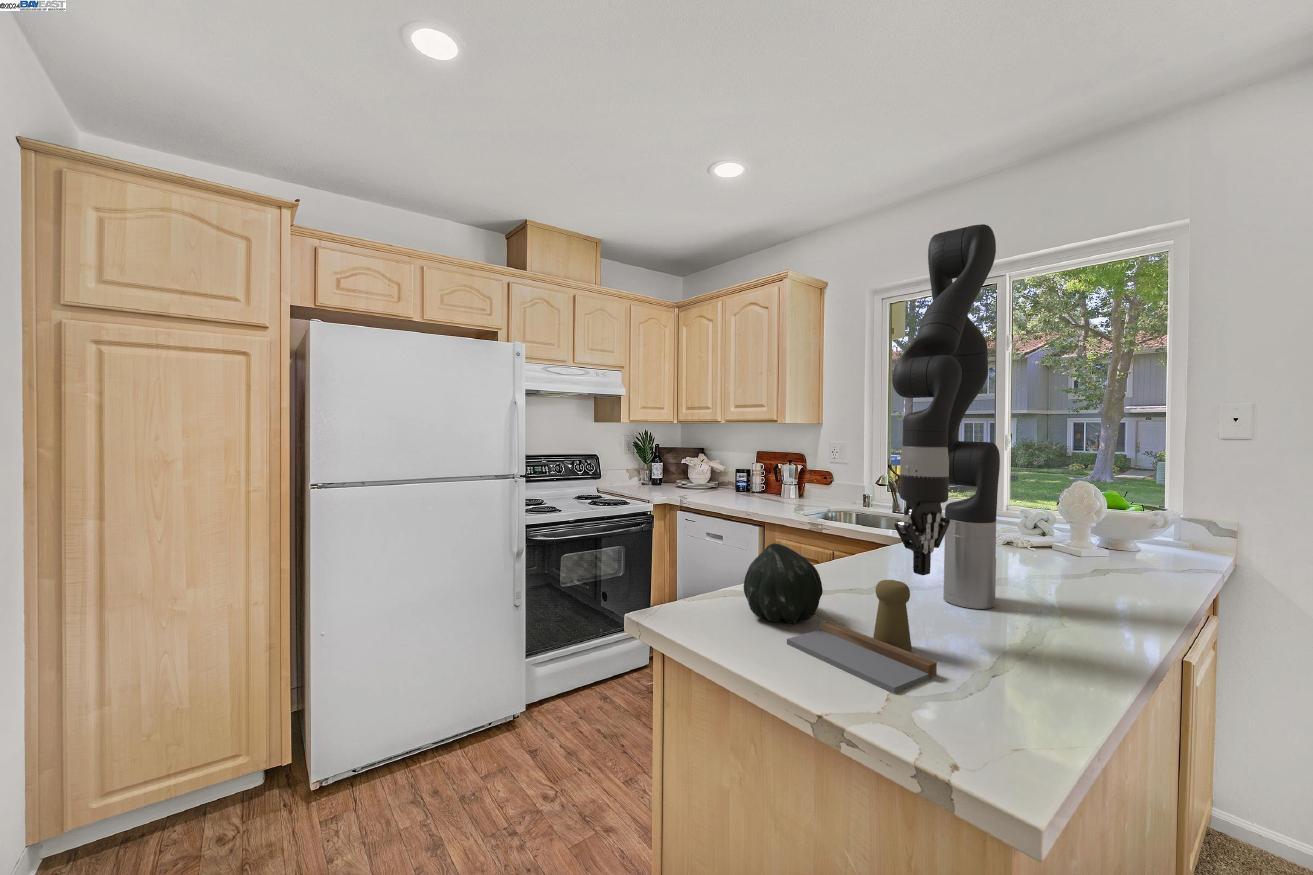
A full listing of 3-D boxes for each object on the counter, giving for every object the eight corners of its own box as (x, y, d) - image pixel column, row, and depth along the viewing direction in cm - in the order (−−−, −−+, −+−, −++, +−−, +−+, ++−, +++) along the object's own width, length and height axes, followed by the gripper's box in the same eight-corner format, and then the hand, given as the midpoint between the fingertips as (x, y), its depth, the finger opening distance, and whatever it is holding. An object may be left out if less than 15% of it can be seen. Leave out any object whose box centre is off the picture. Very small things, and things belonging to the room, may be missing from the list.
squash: (827, 578, 112) (778, 522, 112) (845, 605, 97) (788, 541, 97) (773, 621, 113) (725, 566, 114) (783, 655, 99) (727, 591, 99)
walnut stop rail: (827, 631, 98) (827, 620, 97) (936, 676, 81) (936, 662, 81) (819, 634, 96) (819, 622, 96) (928, 679, 80) (928, 665, 79)
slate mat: (819, 634, 96) (819, 629, 96) (928, 679, 80) (928, 673, 80) (786, 643, 92) (786, 638, 92) (894, 693, 75) (894, 687, 75)
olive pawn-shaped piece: (869, 650, 90) (870, 583, 89) (874, 638, 95) (875, 574, 95) (910, 658, 87) (911, 588, 86) (913, 645, 92) (914, 579, 92)
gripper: (921, 476, 88) (919, 584, 88) (967, 473, 95) (964, 574, 95) (880, 472, 94) (878, 573, 95) (926, 470, 101) (923, 564, 102)
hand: (921, 573), depth 95 cm, fingers closed
